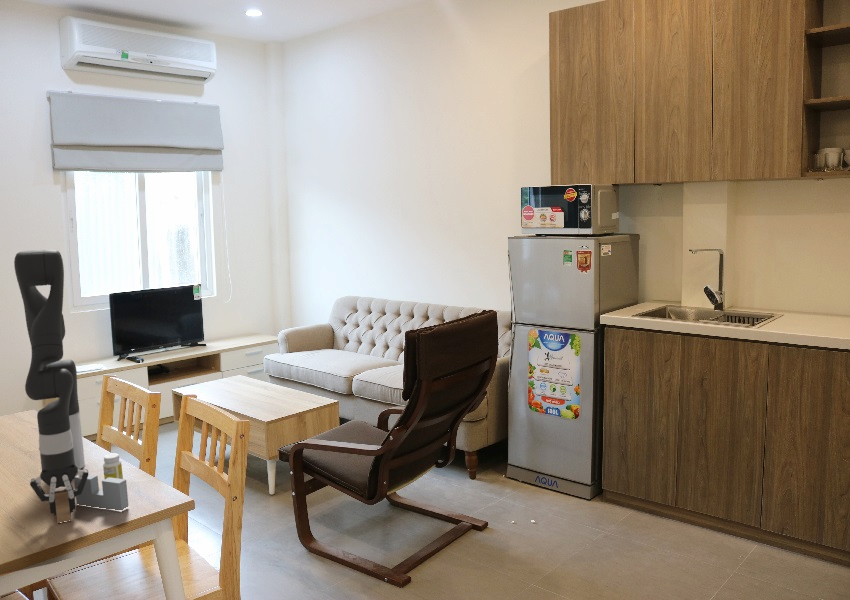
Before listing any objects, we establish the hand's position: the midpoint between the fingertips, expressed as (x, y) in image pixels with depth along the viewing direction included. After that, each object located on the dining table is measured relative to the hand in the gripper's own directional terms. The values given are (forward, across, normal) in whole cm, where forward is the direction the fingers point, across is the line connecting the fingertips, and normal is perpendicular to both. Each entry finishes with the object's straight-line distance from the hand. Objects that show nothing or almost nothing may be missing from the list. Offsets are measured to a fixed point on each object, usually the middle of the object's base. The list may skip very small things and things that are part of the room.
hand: (63, 512), depth 183 cm
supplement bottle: (+2, -12, -19) cm, 23 cm away
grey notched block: (+2, -9, -4) cm, 10 cm away
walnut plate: (+2, 0, -6) cm, 6 cm away
